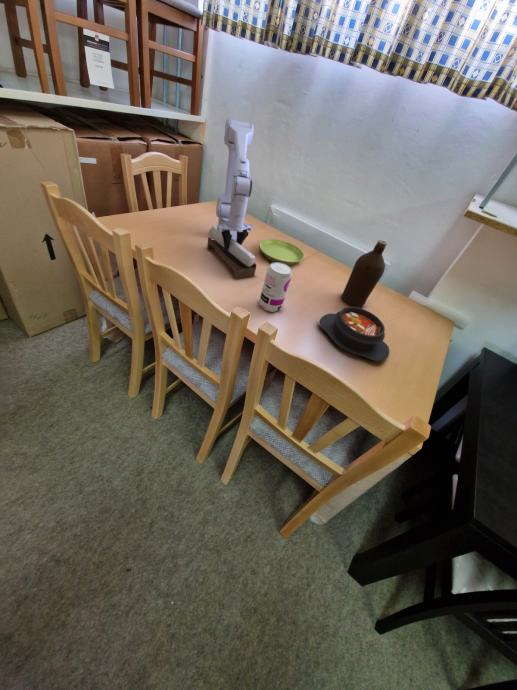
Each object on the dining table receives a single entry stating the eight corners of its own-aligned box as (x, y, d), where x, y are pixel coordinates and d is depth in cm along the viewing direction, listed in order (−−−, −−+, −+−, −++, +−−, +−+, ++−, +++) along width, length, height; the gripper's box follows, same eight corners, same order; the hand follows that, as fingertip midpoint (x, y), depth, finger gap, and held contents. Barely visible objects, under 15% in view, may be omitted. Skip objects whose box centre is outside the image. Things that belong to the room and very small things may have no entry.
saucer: (279, 272, 123) (281, 265, 120) (248, 248, 132) (250, 242, 130) (310, 263, 135) (313, 257, 133) (280, 242, 144) (282, 236, 142)
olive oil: (367, 311, 115) (401, 252, 98) (342, 306, 113) (372, 245, 97) (361, 296, 123) (391, 238, 106) (337, 291, 121) (364, 232, 104)
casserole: (393, 348, 101) (407, 329, 95) (374, 375, 89) (388, 356, 83) (332, 310, 110) (341, 292, 104) (307, 331, 97) (315, 311, 92)
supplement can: (283, 303, 106) (295, 267, 96) (277, 315, 100) (289, 278, 90) (263, 296, 107) (272, 258, 97) (255, 307, 101) (265, 268, 91)
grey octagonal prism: (260, 256, 110) (221, 227, 121) (250, 254, 106) (211, 224, 117) (253, 269, 112) (216, 239, 123) (244, 268, 108) (206, 236, 119)
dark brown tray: (224, 247, 128) (226, 236, 125) (254, 276, 115) (256, 264, 112) (207, 249, 124) (208, 237, 120) (235, 279, 111) (237, 267, 107)
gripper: (225, 218, 100) (220, 255, 110) (259, 217, 108) (252, 251, 117) (215, 210, 104) (211, 246, 113) (249, 209, 112) (243, 243, 121)
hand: (231, 248), depth 115 cm, fingers closed on grey octagonal prism, 5 cm apart
